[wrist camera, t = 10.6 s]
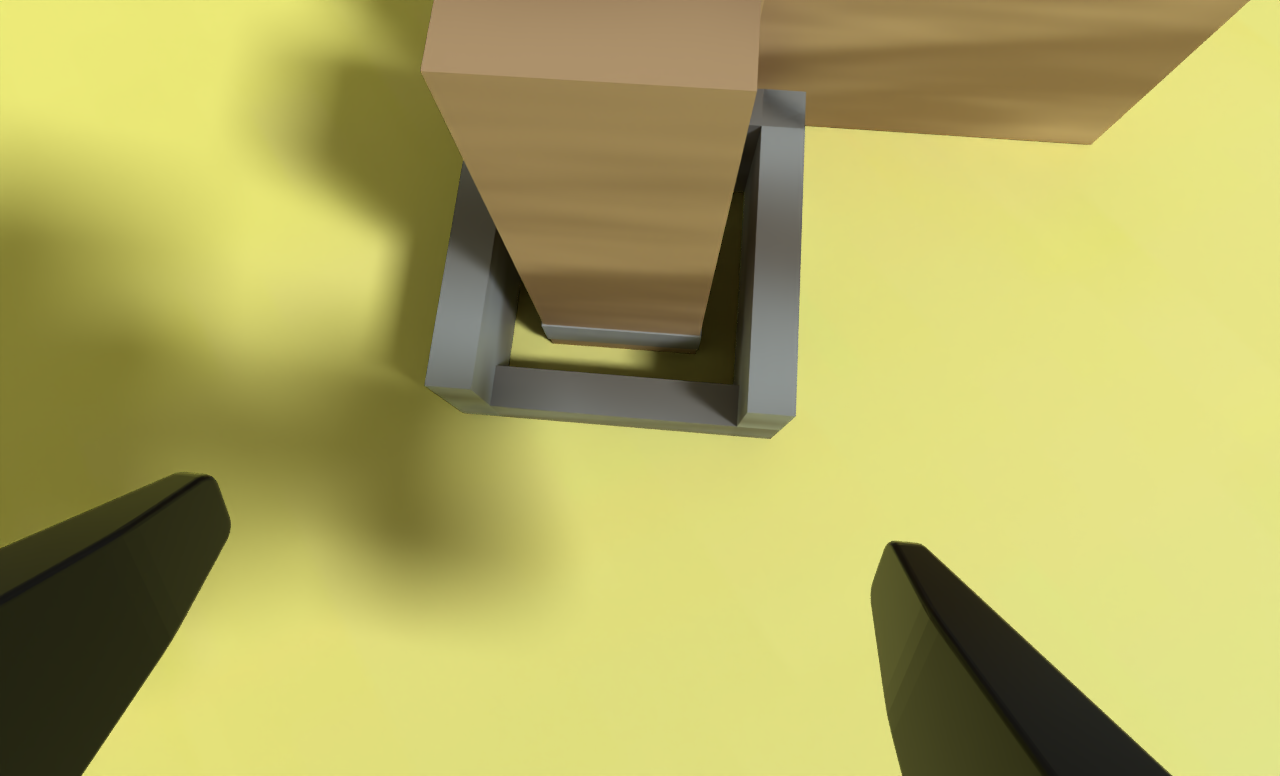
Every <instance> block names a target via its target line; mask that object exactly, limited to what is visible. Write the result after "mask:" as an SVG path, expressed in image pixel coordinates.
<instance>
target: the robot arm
mask: <svg viewBox="0 0 1280 776" xmlns="http://www.w3.org/2000/svg"><path fill="white" fill-rule="evenodd" d="M230 528H231V521H230V517H229V514H228V511H227V508H226V505H225V503H224V500H223V497H222V494H221V491H220V488H219V486H218V483H217V481H216V480H215V479H214V478H213V477H212V476H210V475H207V474H198V473H188V472H180V473H176V474H173V475H170V476H168V477H166V478H163V479H161V480H159V481H156V482H154V483H152V484H149V485H147V486H145V487H142V488H140V489H138V490H135V491H133V492H131V493H128V494H126V495H124V496H121V497H119V498H117V499H114V500H112V501H110V502H107V503H105V504H103V505H101V506H98V507H96V508H94V509H91V510H89V511H87V512H84V513H82V514H80V515H77V516H75V517H73V518H70V519H68V520H66V521H63V522H61V523H59V524H56V525H54V526H52V527H49V528H47V529H45V530H42V531H40V532H38V533H35V534H33V535H31V536H28V537H26V538H24V539H21V540H19V541H17V542H14V543H12V544H10V545H7V546H5V547H3V548H0V776H82V774H83V773H84V771H85V770H86V768H87V767H88V765H89V764H90V762H91V761H92V760H93V758H94V757H95V755H96V754H97V752H98V751H99V749H100V748H101V746H102V745H103V743H104V742H105V740H106V739H107V737H108V736H109V734H110V733H111V731H112V730H113V728H114V727H115V725H116V724H117V722H118V721H119V719H120V718H121V716H122V715H123V713H124V712H125V710H126V709H127V707H128V706H129V704H130V703H131V702H132V700H133V699H134V697H135V696H136V694H137V693H138V691H139V690H140V688H141V687H142V685H143V684H144V682H145V681H146V679H147V678H148V676H149V675H150V673H151V672H152V670H153V669H154V667H155V666H156V664H157V663H158V661H159V660H160V658H161V657H162V655H163V654H164V652H165V651H166V649H167V647H168V646H169V644H170V643H171V641H172V640H173V638H174V636H175V634H176V633H177V631H178V629H179V627H180V626H181V624H182V622H183V620H184V618H185V617H186V615H187V613H188V611H189V609H190V607H191V606H192V604H193V602H194V600H195V598H196V596H197V594H198V593H199V591H200V589H201V587H202V585H203V583H204V582H205V580H206V578H207V576H208V574H209V572H210V570H211V569H212V567H213V565H214V563H215V561H216V559H217V557H218V556H219V554H220V552H221V550H222V548H223V546H224V545H225V543H226V541H227V539H228V536H229V533H230ZM871 607H872V614H873V621H874V628H875V635H876V642H877V649H878V656H879V663H880V670H881V677H882V684H883V692H884V698H885V704H886V710H887V716H888V721H889V725H890V729H891V734H892V738H893V742H894V746H895V750H896V753H897V757H898V761H899V765H900V769H901V773H902V776H1172V775H1171V774H1170V773H1169V772H1168V771H1167V770H1165V769H1164V768H1163V767H1162V766H1161V765H1160V764H1159V763H1158V762H1157V761H1156V760H1155V759H1154V758H1153V757H1151V756H1150V755H1149V754H1148V753H1147V752H1146V751H1145V750H1144V749H1143V748H1142V747H1141V746H1140V745H1139V744H1137V743H1136V742H1135V741H1134V740H1133V739H1132V738H1131V737H1130V736H1129V735H1128V734H1127V733H1126V732H1125V731H1123V730H1122V729H1121V728H1120V727H1119V726H1118V725H1117V724H1116V723H1115V722H1114V721H1113V720H1112V719H1111V718H1109V717H1108V716H1107V715H1106V714H1105V713H1104V712H1103V711H1102V710H1101V709H1100V708H1099V707H1098V706H1097V705H1095V704H1094V703H1093V702H1092V701H1091V700H1090V699H1089V698H1088V697H1087V696H1086V695H1085V694H1084V693H1082V692H1081V691H1080V690H1079V689H1078V688H1077V687H1076V686H1075V685H1074V684H1073V683H1072V682H1071V681H1070V680H1068V679H1067V678H1066V677H1065V676H1064V675H1063V674H1062V673H1061V672H1060V671H1059V670H1058V669H1057V668H1056V667H1054V666H1053V665H1052V664H1051V663H1050V662H1049V661H1048V660H1047V659H1046V658H1045V657H1044V656H1043V655H1042V654H1040V653H1039V652H1038V651H1037V650H1036V649H1035V648H1034V647H1033V646H1032V645H1031V644H1030V643H1029V642H1028V641H1026V640H1025V639H1024V638H1023V637H1022V636H1021V635H1020V634H1019V633H1018V632H1017V631H1016V630H1015V629H1013V628H1012V627H1011V626H1010V625H1009V624H1008V623H1007V622H1006V621H1005V620H1004V619H1003V618H1002V617H1001V616H999V615H998V614H997V613H996V612H995V611H994V610H993V609H992V608H991V607H990V606H989V605H988V604H987V603H985V602H984V601H983V600H982V599H981V598H980V597H979V596H978V595H977V594H976V593H975V592H974V591H973V590H971V589H970V588H969V587H968V586H967V585H966V584H965V583H964V582H963V581H962V580H961V579H960V578H959V577H957V576H956V575H955V574H954V573H953V572H952V571H951V570H950V569H949V568H948V567H947V566H946V565H945V564H943V563H942V562H941V561H940V560H939V559H938V558H937V557H936V556H935V555H934V554H933V553H932V552H930V551H929V550H928V549H927V548H926V547H925V546H923V545H922V544H919V543H912V542H902V541H891V542H889V543H888V544H887V545H886V547H885V549H884V551H883V554H882V557H881V560H880V563H879V565H878V568H877V571H876V574H875V577H874V580H873V583H872V587H871Z"/></svg>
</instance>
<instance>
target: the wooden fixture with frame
mask: <svg viewBox="0 0 1280 776" xmlns="http://www.w3.org/2000/svg"><path fill="white" fill-rule="evenodd" d="M1249 1H1250V0H761V13H760V35H759V57H758V79H757V93H756V97H755V102H754V106H753V110H752V114H751V119H750V123H749V127H748V131H747V136H746V140H745V144H744V149H743V153H742V157H741V161H740V166H739V170H738V174H737V178H736V183H735V187H734V191H733V192H744V201H743V219H742V237H741V255H740V273H739V291H738V309H737V327H736V345H735V363H734V381H733V385H731V384H719V383H706V382H694V381H682V380H669V379H657V378H645V377H633V376H620V375H608V374H596V373H583V372H571V371H559V370H547V369H534V368H522V367H510V366H509V362H510V355H511V348H512V341H513V334H514V327H515V320H516V313H517V305H518V298H519V291H520V284H521V277H520V275H519V273H518V271H517V269H516V267H515V265H514V263H513V261H512V259H511V257H510V254H509V252H508V250H507V248H506V246H505V244H504V242H503V240H502V238H501V236H500V234H499V232H498V230H497V228H496V226H495V224H494V222H493V220H492V217H491V215H490V213H489V211H488V209H487V207H486V205H485V203H484V201H483V199H482V197H481V195H480V193H479V191H478V189H477V187H476V185H475V183H474V180H473V178H472V176H471V174H470V172H469V170H468V168H467V166H466V164H465V162H464V160H463V164H462V170H461V176H460V181H459V187H458V193H457V199H456V205H455V210H454V216H453V222H452V228H451V234H450V239H449V245H448V251H447V257H446V263H445V269H444V274H443V280H442V286H441V292H440V298H439V303H438V309H437V315H436V321H435V327H434V332H433V338H432V344H431V350H430V356H429V362H428V367H427V373H426V379H425V385H424V386H426V387H427V388H429V389H430V390H431V391H433V392H434V393H436V394H437V395H438V396H440V397H441V398H443V399H444V400H446V401H447V402H448V403H450V404H451V405H453V406H454V407H456V408H457V409H458V410H460V411H461V412H463V413H470V414H482V415H494V416H505V417H517V418H529V419H541V420H553V421H565V422H577V423H589V424H600V425H612V426H624V427H636V428H648V429H660V430H672V431H683V432H695V433H707V434H719V435H731V436H743V437H755V438H767V439H771V438H772V437H773V436H774V435H775V434H776V433H777V432H779V431H780V430H781V429H782V428H783V427H784V426H785V425H786V424H788V423H789V422H790V421H791V420H792V419H793V418H794V417H796V390H797V359H798V327H799V296H800V265H801V233H802V202H803V170H804V139H805V126H820V127H835V128H850V129H865V130H880V131H895V132H910V133H925V134H940V135H955V136H970V137H985V138H1000V139H1015V140H1030V141H1045V142H1060V143H1075V144H1092V143H1093V142H1094V141H1095V140H1097V139H1098V138H1099V137H1100V136H1101V135H1102V134H1103V133H1104V132H1105V131H1106V130H1108V129H1109V128H1110V127H1111V126H1112V125H1113V124H1114V123H1115V122H1116V121H1117V120H1119V119H1120V118H1121V117H1122V116H1123V115H1124V114H1125V113H1126V112H1127V111H1128V110H1130V109H1131V108H1132V107H1133V106H1134V105H1135V104H1136V103H1137V102H1138V101H1139V100H1141V99H1142V98H1143V97H1144V96H1145V95H1146V94H1147V93H1148V92H1149V91H1151V90H1152V89H1153V88H1154V87H1155V86H1156V85H1157V84H1158V83H1159V82H1160V81H1162V80H1163V79H1164V78H1165V77H1166V76H1167V75H1168V74H1169V73H1170V72H1171V71H1173V70H1174V69H1175V68H1176V67H1177V66H1178V65H1179V64H1180V63H1181V62H1182V61H1184V60H1185V59H1186V58H1187V57H1188V56H1189V55H1190V54H1191V53H1192V52H1193V51H1195V50H1196V49H1197V48H1198V47H1199V46H1200V45H1201V44H1202V43H1203V42H1204V41H1206V40H1207V39H1208V38H1209V37H1210V36H1211V35H1212V34H1213V33H1214V32H1215V31H1217V30H1218V29H1219V28H1220V27H1221V26H1222V25H1223V24H1224V23H1225V22H1226V21H1228V20H1229V19H1230V18H1231V17H1232V16H1233V15H1234V14H1235V13H1236V12H1237V11H1239V10H1240V9H1241V8H1242V7H1243V6H1244V5H1245V4H1246V3H1247V2H1249Z"/></svg>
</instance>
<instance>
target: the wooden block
mask: <svg viewBox="0 0 1280 776" xmlns="http://www.w3.org/2000/svg"><path fill="white" fill-rule="evenodd" d="M760 13H761V0H434V2H433V7H432V12H431V18H430V23H429V28H428V33H427V39H426V44H425V49H424V55H423V60H422V65H421V70H420V71H421V74H422V76H423V78H424V80H425V82H426V84H427V86H428V88H429V90H430V92H431V94H432V96H433V98H434V100H435V102H436V104H437V106H438V108H439V111H440V113H441V115H442V117H443V119H444V121H445V123H446V125H447V127H448V129H449V131H450V133H451V135H452V137H453V139H454V141H455V143H456V145H457V148H458V150H459V152H460V154H461V156H462V158H463V160H464V162H465V164H466V166H467V168H468V170H469V172H470V174H471V176H472V178H473V180H474V183H475V185H476V187H477V189H478V191H479V193H480V195H481V197H482V199H483V201H484V203H485V205H486V207H487V209H488V211H489V213H490V215H491V217H492V220H493V222H494V224H495V226H496V228H497V230H498V232H499V234H500V236H501V238H502V240H503V242H504V244H505V246H506V248H507V250H508V252H509V254H510V257H511V259H512V261H513V263H514V265H515V267H516V269H517V271H518V273H519V275H520V277H521V279H522V281H523V283H524V285H525V287H526V289H527V292H528V294H529V296H530V298H531V300H532V302H533V304H534V306H535V308H536V310H537V312H538V314H539V316H540V318H541V320H542V328H543V330H544V332H545V334H546V336H547V338H548V339H551V341H552V343H555V344H569V345H582V346H596V347H609V348H623V349H636V350H650V351H663V352H677V353H690V354H695V353H696V350H698V349H699V345H700V341H701V333H702V323H703V319H704V315H705V311H706V306H707V302H708V298H709V294H710V289H711V285H712V281H713V276H714V272H715V268H716V264H717V259H718V255H719V251H720V247H721V242H722V238H723V234H724V230H725V225H726V221H727V217H728V212H729V208H730V204H731V200H732V195H733V191H734V187H735V183H736V178H737V174H738V170H739V166H740V161H741V157H742V153H743V149H744V144H745V140H746V136H747V131H748V127H749V123H750V119H751V114H752V110H753V106H754V102H755V97H756V93H757V79H758V57H759V35H760Z"/></svg>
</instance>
